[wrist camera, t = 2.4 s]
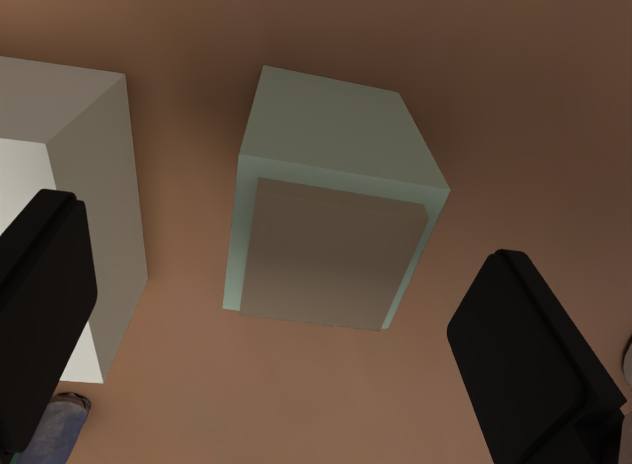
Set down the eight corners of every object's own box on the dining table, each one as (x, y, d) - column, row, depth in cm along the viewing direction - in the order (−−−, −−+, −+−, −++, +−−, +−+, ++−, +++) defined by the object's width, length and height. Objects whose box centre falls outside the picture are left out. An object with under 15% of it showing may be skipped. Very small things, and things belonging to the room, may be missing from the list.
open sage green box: (398, 92, 16) (457, 204, 10) (362, 204, 19) (390, 344, 13) (263, 64, 15) (235, 166, 9) (248, 185, 18) (219, 324, 12)
